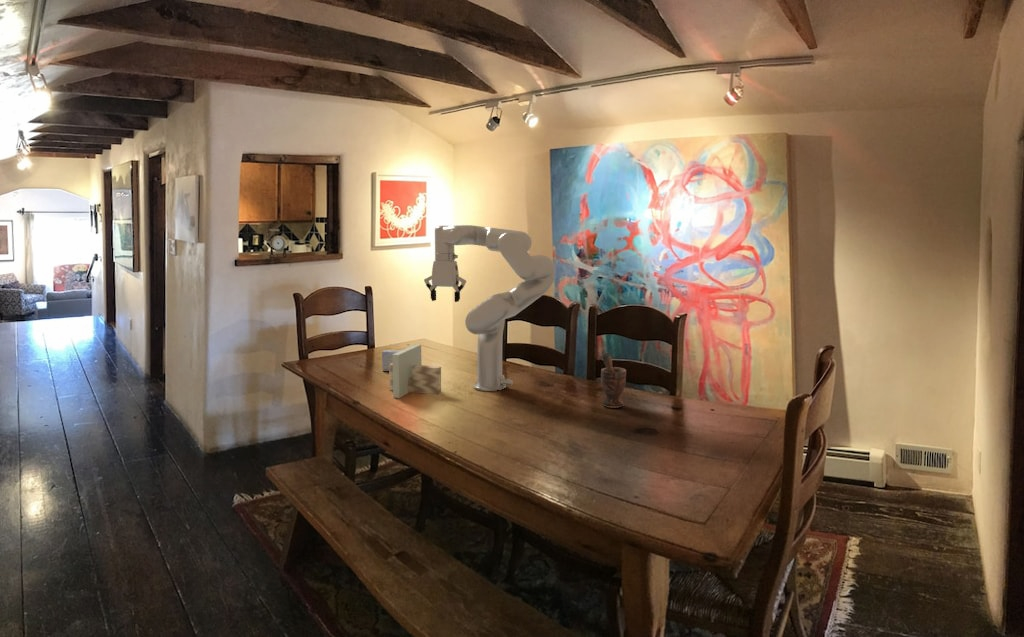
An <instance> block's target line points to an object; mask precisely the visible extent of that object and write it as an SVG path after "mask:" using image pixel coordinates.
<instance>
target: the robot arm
mask: <svg viewBox="0 0 1024 637" xmlns="http://www.w3.org/2000/svg"><path fill="white" fill-rule="evenodd" d="M466 245H468V246H469V245H470V246H471V245H472V246H481V247H486V248H487V250H489V251H492V252H499V253H500V254H501V255H502V257H503V258H504V260H505V261H506V262H507V264H508V265H509V266H510V268H512V270H513V272H514V273H515V274H516V275H517V277H519V278H520V279H522V280H523V281H521V282H520V283H518V284H517V285H516V286H515V287H513V288H511V289H510V290H508V291H506V292H500V293H496V294H493V295H491V296H489V297H487V298H486V299H485V300H483V301H482V302H481V303H479V304H478V305H476V306H475V307H474V308H472V309H471V310H470V311H468V313H467V314H466V317H465V319H464V322H465V324H464V325H465V327H466V330H467V331H468V332H469V333H471V334H473V335H477V336H478V337H477V382H474V384H473V388H474V389H475V390H477V391H482V392H496V391H497V390H499V391H502V389H503V390H505V389H506V388H507V386H512V385H513V380H512V379H511V378H505V374H503V336H504V329H505V322H506V321H505V320H506V319H510V318H513V317H516V315H518V314H519V313H521V312H522V311H523V310H525V309H526V308H527V307H528V306H530V305H532V304H533V303H534V302H535V301H536V300H538V299H540V298H541V297H542V296H544V295H545V294H546V293H547V291H548V290H549V289H550V288H551V287H552V286H553V284H554V281H555V277H556V267H555V266H556V265H555V263H554V262H553V259H551V258H550V257H549V256H546V255H542V254H541V255H539V254H537V255H530V253H529V251H530V249H531V247H532V245H533V244H532V238H531V236H530V235H529V234H528V233H526V232H524V231H520V230H513V229H504V228H497V227H486V226H480V225H473V224H471V225H470V224H469V225H468V224H465V225H463V224H462V225H437V226H435V228H434V261H433V263H432V267H431V268H432V270H431V275H430V276H428V277H426V278H424V280H423V281H424V283H425V286H426V287H427V288H428V289H429V291H430V299H431V301H432V302H435V301H436V300H437V290H436V289H437V287H441V288H442V287H444V288H445V287H447V288H453V289H454V302H455V303H457V302H458V303H459V301H460V299H461V292H462V290H463V289H464V288H465V285H466V283H467V280H466V279H464V278H463V277H461V276H460V274H459V267H458V262H457V260H456V259H458V257H459V255H458V254H456V253H455V246H466ZM430 281H431V283H430ZM460 282H461V283H460ZM459 283H460V285H459ZM504 388H505V389H504Z"/></svg>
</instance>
